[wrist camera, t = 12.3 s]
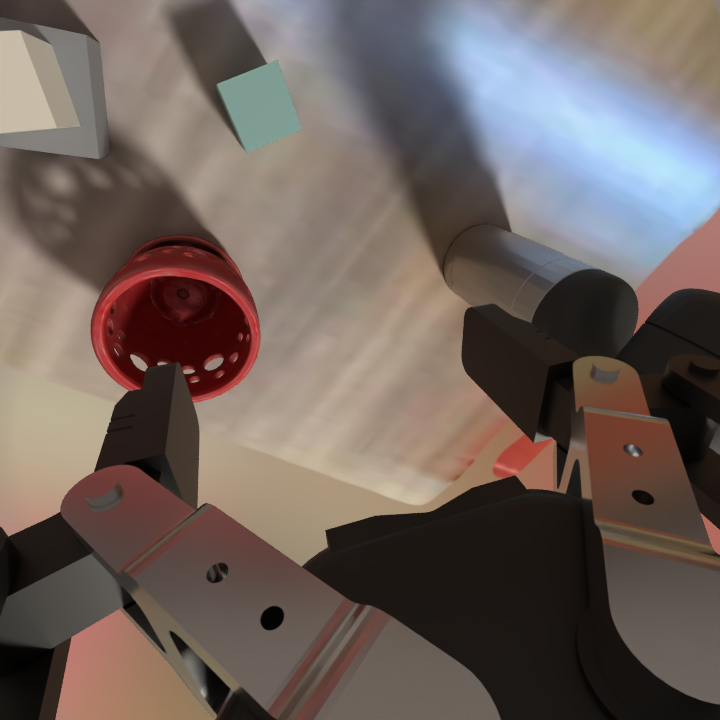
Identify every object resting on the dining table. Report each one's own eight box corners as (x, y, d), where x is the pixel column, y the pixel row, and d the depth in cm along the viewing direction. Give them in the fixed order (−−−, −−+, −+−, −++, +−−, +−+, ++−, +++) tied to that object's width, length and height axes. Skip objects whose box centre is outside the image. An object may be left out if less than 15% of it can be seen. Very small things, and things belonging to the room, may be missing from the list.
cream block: (51, 44, 30) (19, 30, 25) (80, 126, 33) (56, 127, 28) (-31, 49, 29) (-82, 34, 24) (6, 133, 32) (-33, 136, 27)
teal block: (268, 66, 38) (277, 59, 33) (291, 126, 41) (302, 129, 36) (215, 87, 38) (216, 84, 33) (242, 147, 41) (246, 152, 36)
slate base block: (100, 43, 35) (85, 34, 30) (111, 153, 38) (99, 159, 34) (-24, 17, 32) (-59, 4, 28) (0, 138, 36) (-28, 142, 31)
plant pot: (85, 261, 41) (46, 310, 32) (212, 205, 42) (213, 235, 32) (164, 365, 49) (152, 431, 39) (271, 315, 50) (287, 368, 40)
